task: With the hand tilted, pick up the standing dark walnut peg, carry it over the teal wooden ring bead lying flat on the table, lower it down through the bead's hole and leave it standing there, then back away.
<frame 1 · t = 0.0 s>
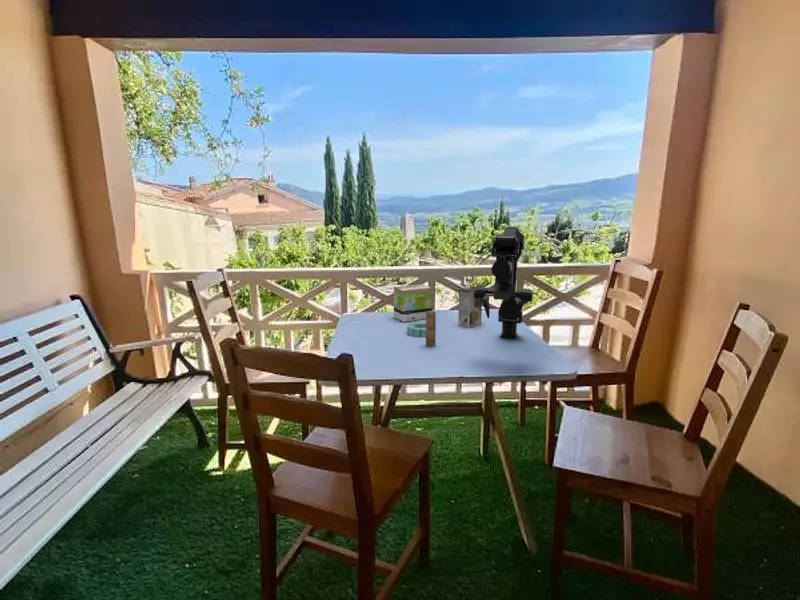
hand: (502, 319, 154), 15 cm above the table, tool pointing down, fingers open, 9 cm apart
walnut peg: (430, 345, 173), on the table
teal bead: (420, 332, 189), on the table
coffee box: (469, 325, 200), on the table
tea box: (412, 318, 211), on the table
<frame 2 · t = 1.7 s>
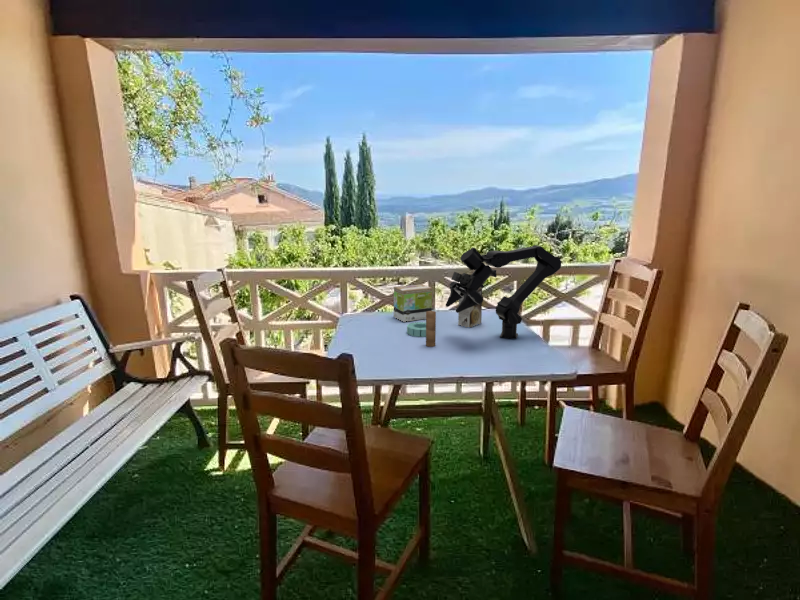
hand: (451, 309, 172), 13 cm above the table, tool tilted 45°, fingers open, 9 cm apart
nothing on the table moved.
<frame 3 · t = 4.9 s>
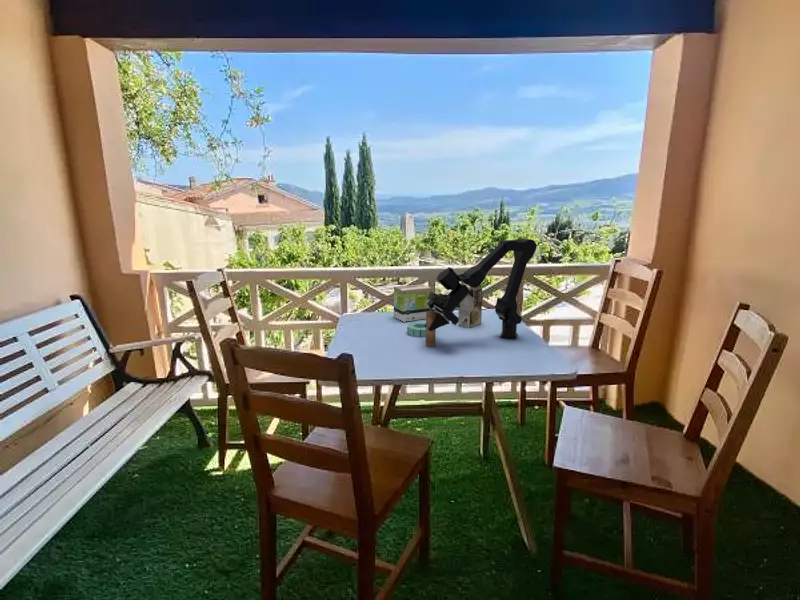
hand: (427, 328, 171), 7 cm above the table, tool tilted 45°, fingers closed on walnut peg, 4 cm apart
walnut peg: (430, 345, 173), on the table, touching gripper
everything else where it was.
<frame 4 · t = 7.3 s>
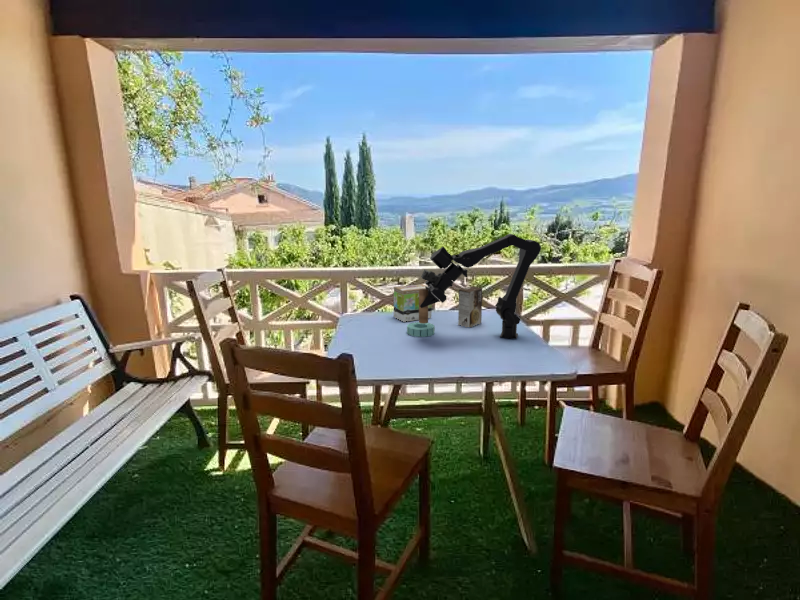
hand: (419, 305, 177), 14 cm above the table, tool tilted 45°, fingers closed on walnut peg, 4 cm apart
walnut peg: (423, 322, 179), point 7 cm above the table, touching gripper
everything else where it was.
when the fingers open (8 cm above the table, at t = 9.6 s): walnut peg drops 1 cm, resting in teal bead.
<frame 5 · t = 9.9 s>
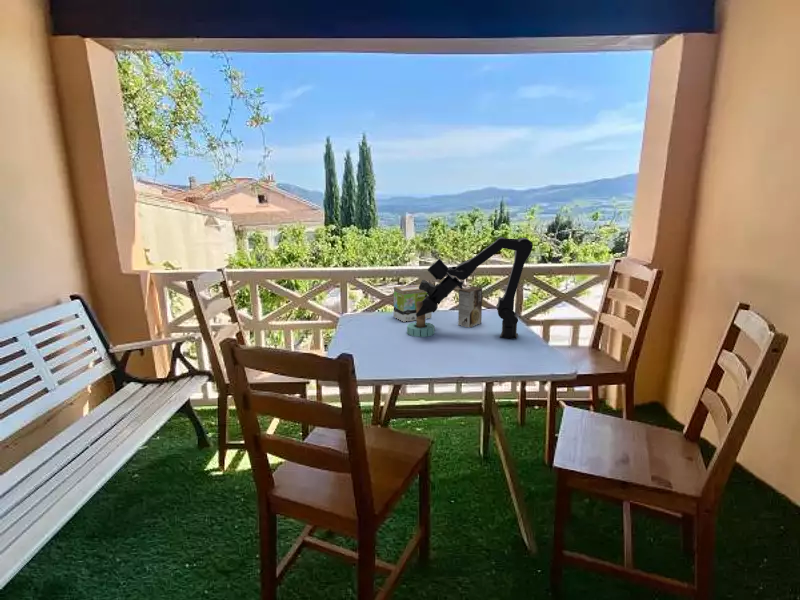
hand: (417, 313, 187), 8 cm above the table, tool tilted 45°, fingers open, 6 cm apart
walnut peg: (420, 332, 189), resting in teal bead
everything else where it was.
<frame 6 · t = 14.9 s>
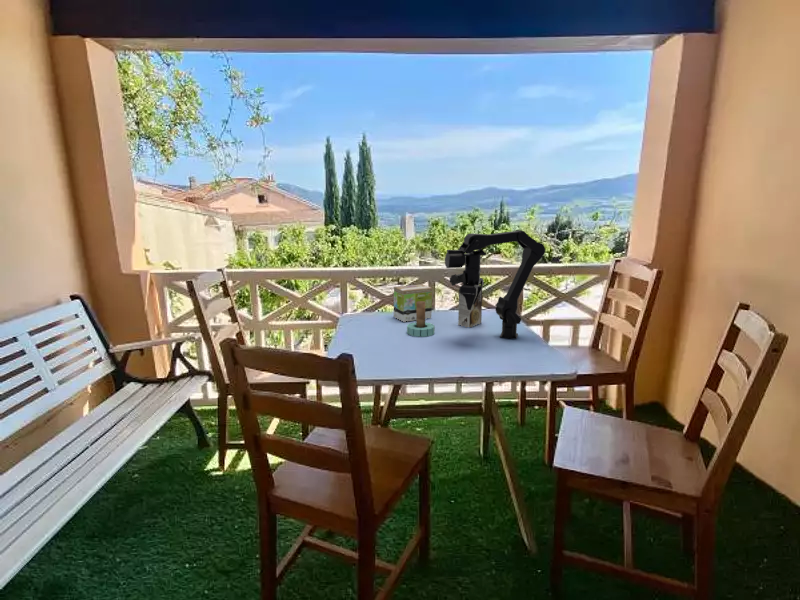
hand: (471, 307, 177), 13 cm above the table, tool pointing down, fingers open, 9 cm apart
nothing on the table moved.
at the end: walnut peg 0.0 cm from the teal bead (horizontally); walnut peg tilted 0°; the gripper is holding nothing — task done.
